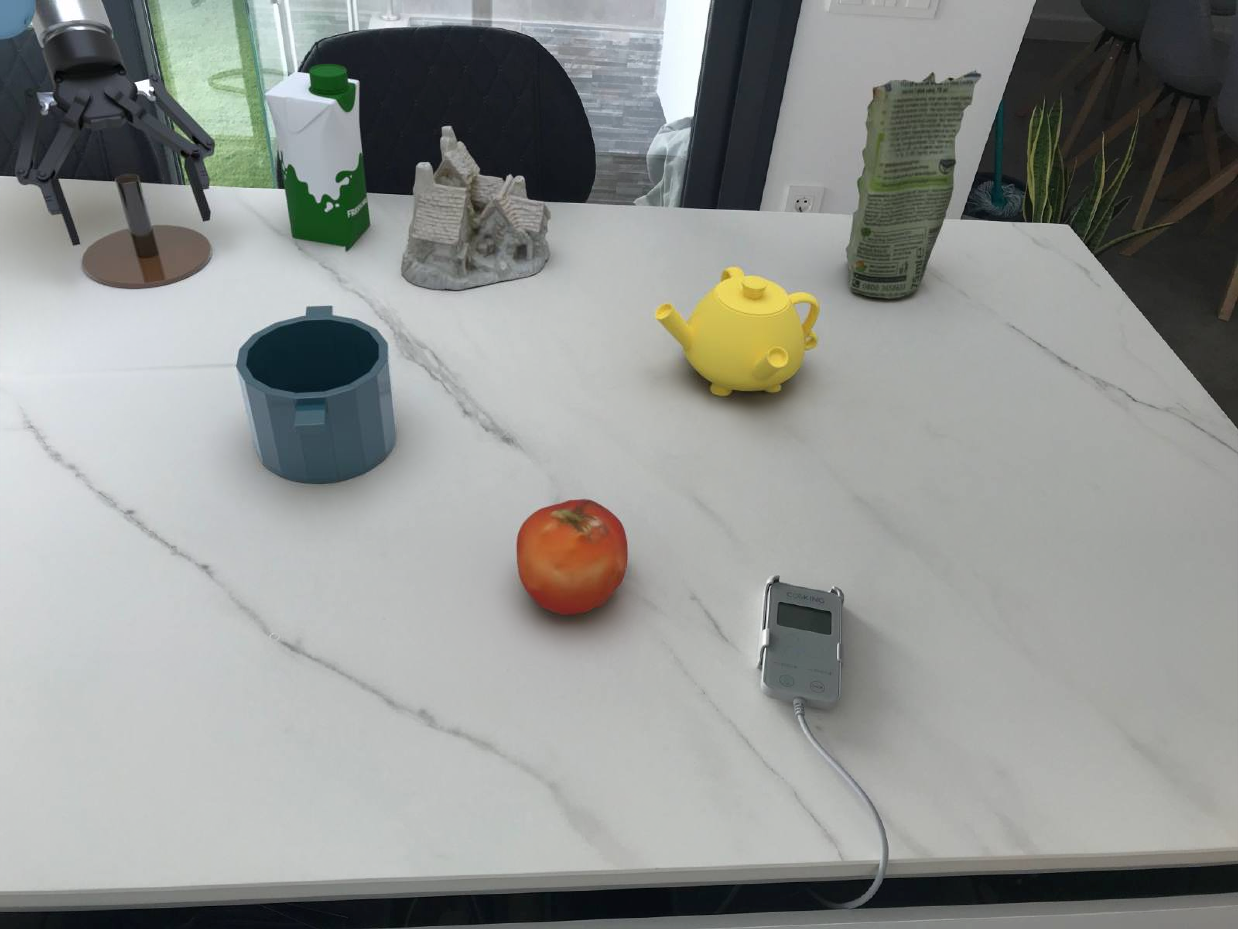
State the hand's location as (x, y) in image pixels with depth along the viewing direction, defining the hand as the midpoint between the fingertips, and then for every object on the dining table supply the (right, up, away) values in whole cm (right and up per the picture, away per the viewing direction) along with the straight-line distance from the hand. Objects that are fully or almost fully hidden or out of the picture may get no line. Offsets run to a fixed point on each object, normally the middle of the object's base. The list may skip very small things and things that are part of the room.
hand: (143, 228), depth 108 cm
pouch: (+84, -3, +14) cm, 86 cm away
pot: (+25, -23, -16) cm, 38 cm away
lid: (-1, -2, +4) cm, 5 cm away
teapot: (+64, -17, -4) cm, 67 cm away
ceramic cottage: (+35, -2, +10) cm, 37 cm away
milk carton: (+17, +2, +13) cm, 22 cm away
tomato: (+49, -36, -28) cm, 67 cm away
